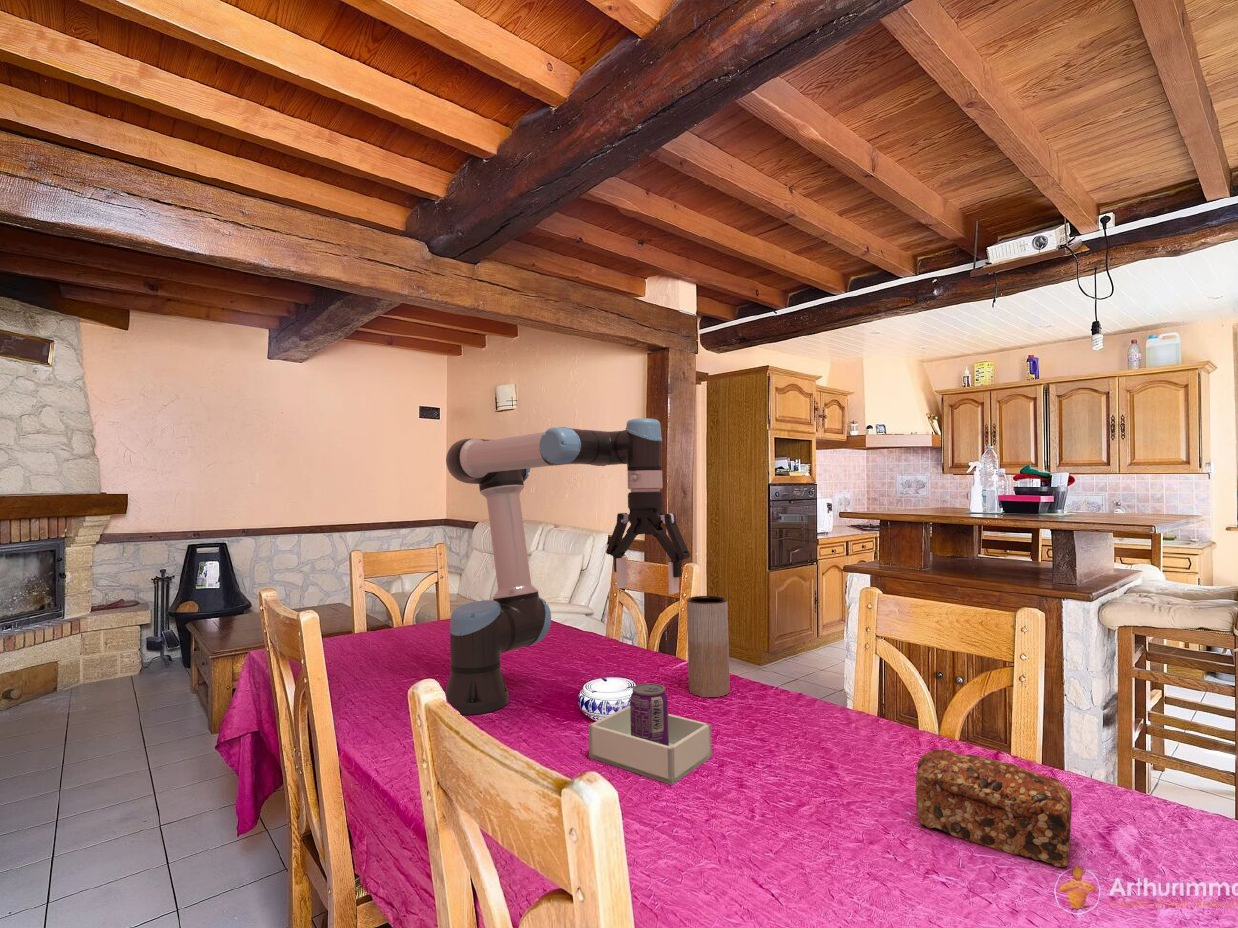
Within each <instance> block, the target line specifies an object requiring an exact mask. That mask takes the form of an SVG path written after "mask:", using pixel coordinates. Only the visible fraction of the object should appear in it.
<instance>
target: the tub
mask: <svg viewBox="0 0 1238 928" xmlns="http://www.w3.org/2000/svg"><path fill="white" fill-rule="evenodd" d="M668 734H669V746H666V745H663V744H659V743H656V742H652V741H649V740H645V739H642V738H638V737H635V736H631V716H630V705H627V706H626V707H624V708H622V709H619V710H618V711H616V712H615V711H614V712H613V713H611V714H609V715H607V716H605V717H603V718H601V719H598V720H596V721H595V722H592V723H590V724H588V758H589V759H591V760H595V759H597V760H596V761H598V760H599V761H598V762H602V763H605V764H607V765H610V766H613V767H617V768H619V769H622V770H625V771H628V772H632V773H635V774H638V775H641V776H643V777H646V778H648V779H649V778H650V779H653V780H656V781H658V782H662V783H664V784H668V785H671V786H674V784H676V783H677V782H679V781H680V780H682V779H683V778H685V777H686V776H687V775H688V774H690V773H691V772H693V771H694V770H696V769H697V768H699V767H700V766H701V765H702V764H704V763H706V762H707V761H708V760H709V759H711V758H712V756H713V755H712V754H713V751H712V750H713V749H712V747H713V746H712V724H710V723H707V722H702V721H699V720H695V719H692V718H691V719H690V718H687V717H683V716H679V715H674V714H672V713H671V714H670V713H668Z"/></svg>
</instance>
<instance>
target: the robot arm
mask: <svg viewBox="0 0 1238 928" xmlns="http://www.w3.org/2000/svg"><path fill="white" fill-rule="evenodd" d="M661 428H662V427H661V422H660V421H659V420H658V419H655V418H647V417H646V418H633V419H629V420H627V421H626V428H625V429H624V430H615V431H611V430H610V431H605V430H604V431H603V430H594V429H593V430H592V429H580V428H571V427H567V426H559V427H558V426H557V427H551V428H548V429H547V430H546V431H541V432H536V433H530V434H522V435H517V436H510V437H502V438H497V439H484V438H483V439H482V438H464V439H460V440H457V441H456V442H454V443H453V444H452V445H451V446H450V447H449V449H448V451H447V453H446V457H445V464H446V467H447V468H446V469H447V470H448V472H449V474H450V475H451V476H452V477H453V478H454V479H455V480H457V481H459V482H462V483H464V484H470V485H471V484H472V485H473V484H474V485H478V488H479V493H480V495H482V496H483V497H484V498H485V499H486V504H487V511H488V522H489V528H490V535H491V536H490V537H491V544H492V551H493V553H492V554H493V559H494V569H495V576H496V577H495V578H496V584H497V586H496V587H497V591H496V593H495V594H494V595H493V597H492V600H491V599H489V600H488V599H484V600H479V601H471V602H468V603H464V604H462V605H459V606H457V607H456V608H455V609H454V610H453V611H452V612H451V615H450V624H449V625H450V626H449V634H450V637H449V638H450V639H449V640H450V641H449V642H450V645H449V646H450V654H449V655H450V675H449V677H448V681H447V685H446V688H445V692H444V694H445V693H446V696H447V699H448V702H449V703H450V704H451V705H452V706H453V707H454V708H456V709H457V710H458V711H459V712H460V713H461V714H460V715H463V716H465V715H467V716H469V715H481V714H486V713H490V712H494V711H498V710H500V709H501V708H504V707H505V706H507V704H509V691H508V688H507V685H506V681H505V678H504V676H503V672H502V668H501V654H502V653H507V652H510V651H514V650H517V649H521V648H527V647H531V646H532V645H535V644H537V643H539V642H541V641H542V640H544V639H545V638H546V637H547V635H548V633H549V631H550V628H551V624H552V612H551V609H550V606H549V604H547V601H546V600H545V599H544V598H542V597H540V595H539V590H538V589H537V588H536V587H535V586H533V584H532V581H531V572H530V566H529V565H530V564H529V559H528V550H527V542H526V535H525V534H526V533H525V529H524V527H525V526H524V520H523V512H522V505H521V497H520V493H521V492H522V491H523V490H524V488H525V483H524V482H526V480H527V479H528V478H529V473H530V472H531V469H534V468H541V467H551V466H552V467H553V466H555V467H556V466H564V465H590V466H595V467H600V466H601V467H605V466H606V467H607V466H616V465H626V467H627V469H626V471H627V489H628V490H630V492H628V493H627V508H628V510H629V512H628V513H627V512H618V513H617V515H616V524H615V526H614V529H613V532H612V535H611V536H610V540H609V542H608V545H607V548H606V550H605V553H606V555H608V556H609V555H610V556H611V557H613V570H614V573H616V589H624V588H628V574H627V573H628V572H627V569H628V568H627V567H628V566H627V557H625V556H626V555H625V554H626V552H627V551H628V549H629V548H630V547H631V545H632V543H633V542H634V541H635V539H637V538H636V537H637V536H638V535H646V536H647V535H648V536H651V535H652V536H653V537H654V538H656V540H657V541H658V542H659V544H660V546H661V548H663V550H664V552H665V554H666V555H667V556H668V558H669V559H670V561H668V563H667V565H668V567H667V568H668V571H667V572H668V595H674V594H678V593H680V584H679V583H680V578H681V577H682V574H683V571H682V568H683V567H682V562H683V561H684V560H686V559H689V558H690V557H691V554H690V551H689V549H688V547H687V545H686V542H685V541H684V538H683V535H682V533H681V531H680V529H679V526H678V525H677V517H676V514H675V513H674V512H673V513H672V512H671V513H666V514H663V508H664V507H663V506H664V499H663V497H664V496H663V495H664V493H663V492H662V491H661V490H662V489H663V487H664V486H663V485H664V483H663V466H662V463H663V462H662V456H663V455H662V452H663V451H662V450H663V449H662V447H663V438H662V429H661ZM628 523H629V524H630V525H629V527H628V528H627V526H628ZM662 524H664V526H665V528H666V529H665V528H664V527H663V525H662ZM666 530H667V533H668V534H667V533H666ZM625 532H626V533H625ZM624 534H625V535H624Z"/></svg>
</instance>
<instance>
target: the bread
mask: <svg viewBox="0 0 1238 928" xmlns="http://www.w3.org/2000/svg"><path fill="white" fill-rule="evenodd" d="M915 795H916V796H915V800H916V810H917V815H918V821H919V823H920V824H921V825H923V826H925V827H926V828H927V829H929V830H931V829H933V828H935V829H939V830H941V831H942V832H944V833H946V834H950V835H951V836H953V837H956V838H958V839H963V840H965V841H969V842H973V843H976V844H978V845H981V846H983V847H987V848H991V849H994V850H997V851H999V852H1002V853H1007V854H1010V855H1014V856H1015V855H1016V856H1022V857H1025V858H1030V859H1031V858H1032V859H1034V860H1035V861H1038V860H1039V861H1043V862H1045V863H1048V864H1051V865H1053V866H1054V867H1068V865H1069V857H1070V850H1071V833H1072V830H1071V829H1072V828H1071V826H1072V810H1073V809H1072V808H1073V805H1072V798H1073V797H1072V795H1073V794H1072V791H1071V790H1069V789H1067V787H1066V786H1065V785H1064V784H1063V783H1061V781H1060V780H1059V779H1058V778H1054V777H1052V776H1047V775H1043V774H1039V773H1038V772H1035V771H1032V770H1031V771H1030V770H1028V769H1026V768H1023V767H1020V766H1018V765H1017V764H1014V763H1012V762H1010V763H1009V762H1006V761H1002V760H997V759H992V758H989V757H981V756H977V755H975V754H966V755H964V754H959V753H956V752H954V751H952V750H949V749H946V748H945V749H944V748H943V749H942V748H941V749H933V750H931V751H928V752H927V753H923V754H922V756H921V757H920V759H919V760H918V762H917V770H916V774H915Z"/></svg>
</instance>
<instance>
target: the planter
mask: <svg viewBox="0 0 1238 928" xmlns="http://www.w3.org/2000/svg"><path fill="white" fill-rule="evenodd" d="M728 605H729V603H728V599H727V598H726V597H724V596H723V597H722V596H716V595H699V596H698V595H696V596H692V597H688V598H687V599H686V622H687V628H686V629H687V659H688V660H687V661H688V662H687V663H688V664H687V665H688V671H687V672H688V691H690V692H691V693H693V694H695V695H698V696H702V697H701V698H703V697H719V698H721V697H720V696H723V697H725V696H724V695H726V694H727V695H729V694H730V687H731V685H730V653H729V652H730V651H729V649H730V646H729V641H730V640H729V606H728ZM690 692H689V693H690ZM691 693H690V694H691ZM728 693H729V694H728ZM693 694H692V695H693ZM695 695H694V696H695ZM727 695H726V696H727ZM698 696H697V697H698Z"/></svg>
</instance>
